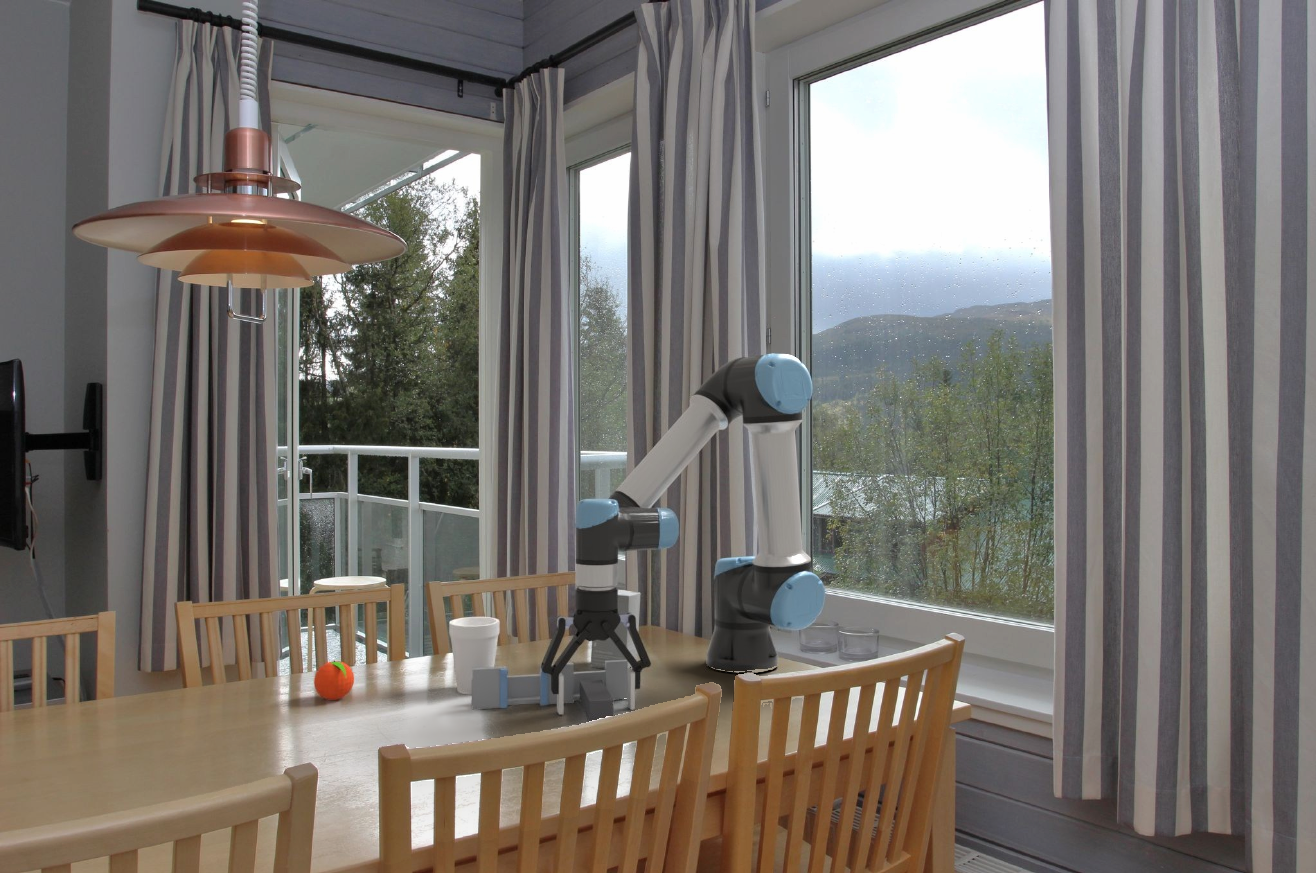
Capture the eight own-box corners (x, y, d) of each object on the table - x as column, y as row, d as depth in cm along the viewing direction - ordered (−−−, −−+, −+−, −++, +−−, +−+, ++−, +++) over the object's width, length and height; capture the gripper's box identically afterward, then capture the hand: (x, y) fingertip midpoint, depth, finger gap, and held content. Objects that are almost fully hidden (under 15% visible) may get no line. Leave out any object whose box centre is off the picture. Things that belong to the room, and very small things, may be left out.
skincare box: (590, 667, 196) (590, 592, 196) (604, 660, 203) (605, 586, 203) (627, 671, 193) (627, 594, 193) (640, 664, 200) (641, 589, 200)
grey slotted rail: (622, 693, 177) (622, 655, 177) (628, 700, 172) (629, 662, 172) (471, 702, 170) (471, 664, 170) (473, 711, 165) (473, 671, 165)
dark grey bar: (601, 701, 172) (601, 679, 172) (613, 723, 159) (613, 700, 159) (579, 702, 171) (579, 680, 171) (589, 724, 158) (589, 701, 158)
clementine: (364, 700, 171) (364, 661, 171) (328, 708, 166) (328, 668, 166) (342, 691, 177) (342, 654, 177) (307, 699, 172) (307, 660, 172)
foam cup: (487, 697, 173) (487, 627, 173) (440, 694, 175) (441, 625, 175) (506, 684, 183) (506, 617, 183) (461, 681, 184) (461, 615, 184)
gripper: (657, 581, 172) (657, 699, 172) (525, 585, 166) (524, 708, 166) (668, 587, 165) (667, 711, 165) (530, 592, 159) (529, 720, 159)
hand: (595, 709), depth 165 cm, fingers open, 12 cm apart
